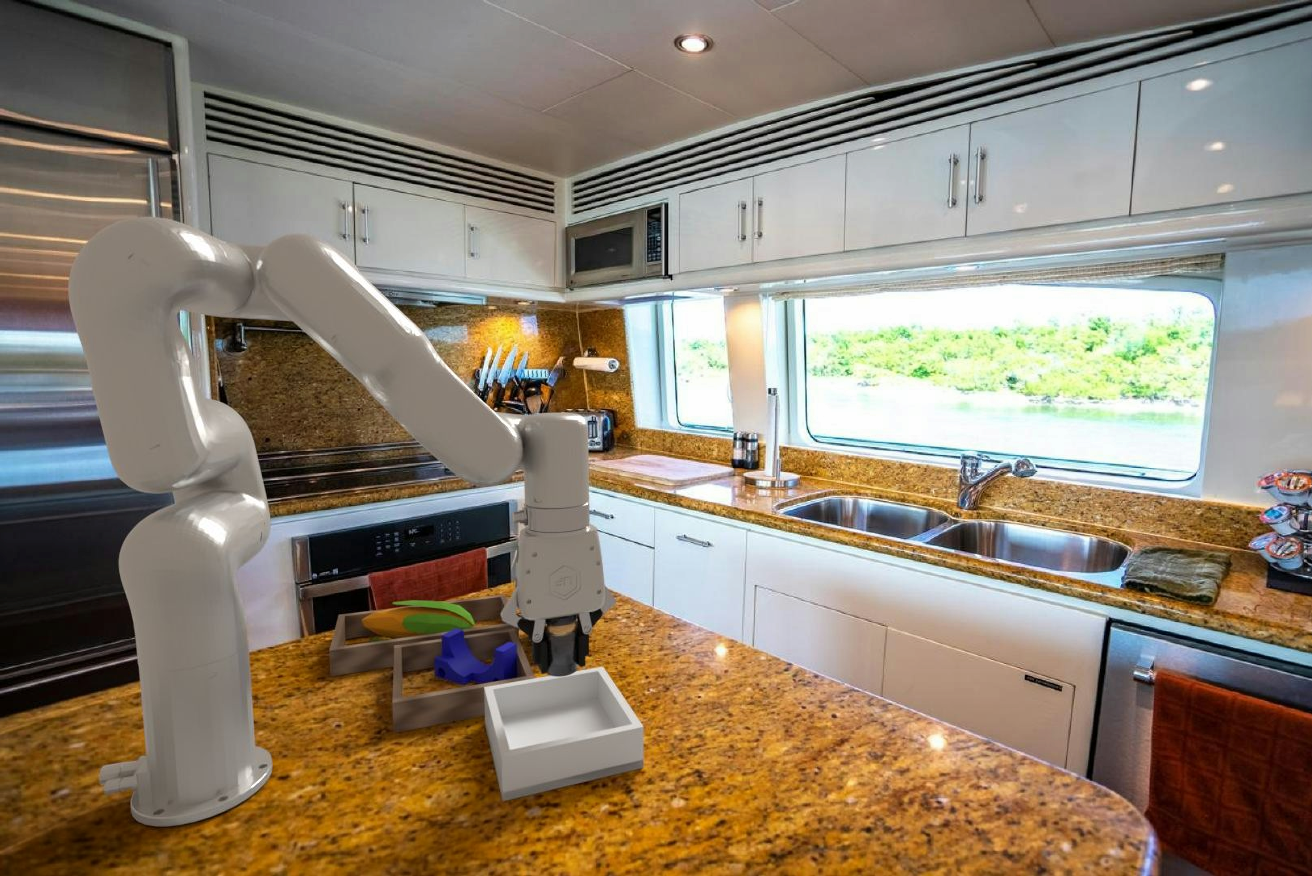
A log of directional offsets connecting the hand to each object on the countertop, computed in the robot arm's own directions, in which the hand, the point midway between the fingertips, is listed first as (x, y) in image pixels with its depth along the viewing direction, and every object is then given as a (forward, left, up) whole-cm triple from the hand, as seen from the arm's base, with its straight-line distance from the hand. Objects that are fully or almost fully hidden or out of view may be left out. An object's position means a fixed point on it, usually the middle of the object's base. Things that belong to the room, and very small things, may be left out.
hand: (561, 664), depth 77 cm
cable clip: (-8, +21, -11) cm, 25 cm away
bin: (0, 0, -10) cm, 10 cm away
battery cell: (0, 0, -1) cm, 1 cm away
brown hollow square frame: (-10, +19, -10) cm, 24 cm away
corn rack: (-14, +37, -10) cm, 41 cm away
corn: (-16, +37, -11) cm, 42 cm away
